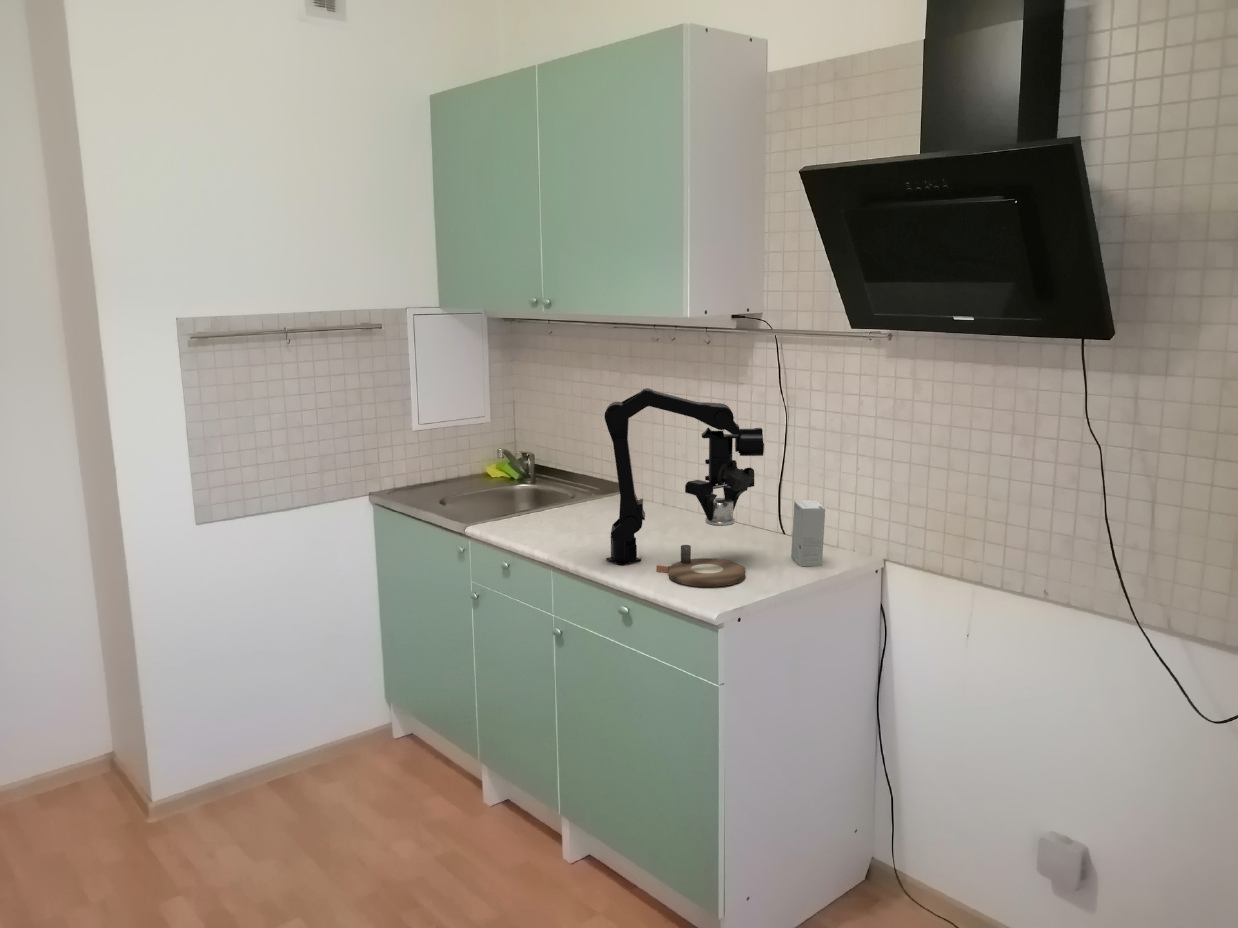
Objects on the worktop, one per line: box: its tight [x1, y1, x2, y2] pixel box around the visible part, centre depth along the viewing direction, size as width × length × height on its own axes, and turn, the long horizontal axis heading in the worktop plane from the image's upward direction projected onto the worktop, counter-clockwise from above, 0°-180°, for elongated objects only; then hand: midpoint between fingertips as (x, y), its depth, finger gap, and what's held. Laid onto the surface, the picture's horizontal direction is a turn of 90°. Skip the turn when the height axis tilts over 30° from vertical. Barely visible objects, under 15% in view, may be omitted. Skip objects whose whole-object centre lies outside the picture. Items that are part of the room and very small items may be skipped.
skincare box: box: [790, 499, 826, 567], centre depth 239 cm, size 8×6×15 cm
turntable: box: [668, 544, 746, 588], centre depth 229 cm, size 18×18×6 cm
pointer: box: [655, 564, 671, 574], centre depth 234 cm, size 3×1×2 cm, turn 67°
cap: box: [704, 497, 736, 527], centre depth 240 cm, size 7×7×6 cm
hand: (719, 518), depth 241 cm, fingers closed on cap, 6 cm apart
